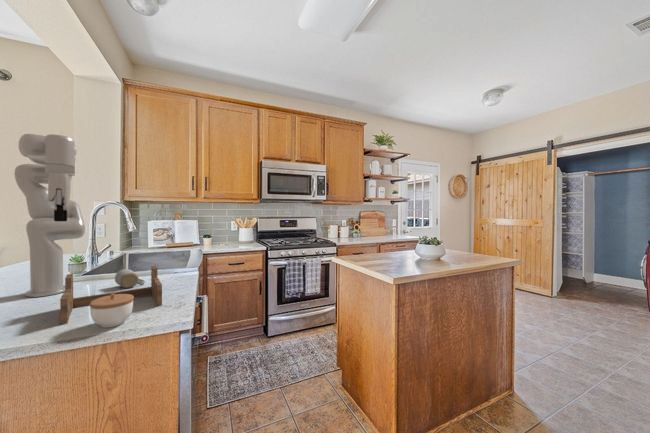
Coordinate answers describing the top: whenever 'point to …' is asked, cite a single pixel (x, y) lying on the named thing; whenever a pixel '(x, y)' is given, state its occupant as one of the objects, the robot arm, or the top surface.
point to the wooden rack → (69, 302)
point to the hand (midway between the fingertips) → (60, 221)
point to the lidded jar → (111, 309)
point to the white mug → (127, 278)
